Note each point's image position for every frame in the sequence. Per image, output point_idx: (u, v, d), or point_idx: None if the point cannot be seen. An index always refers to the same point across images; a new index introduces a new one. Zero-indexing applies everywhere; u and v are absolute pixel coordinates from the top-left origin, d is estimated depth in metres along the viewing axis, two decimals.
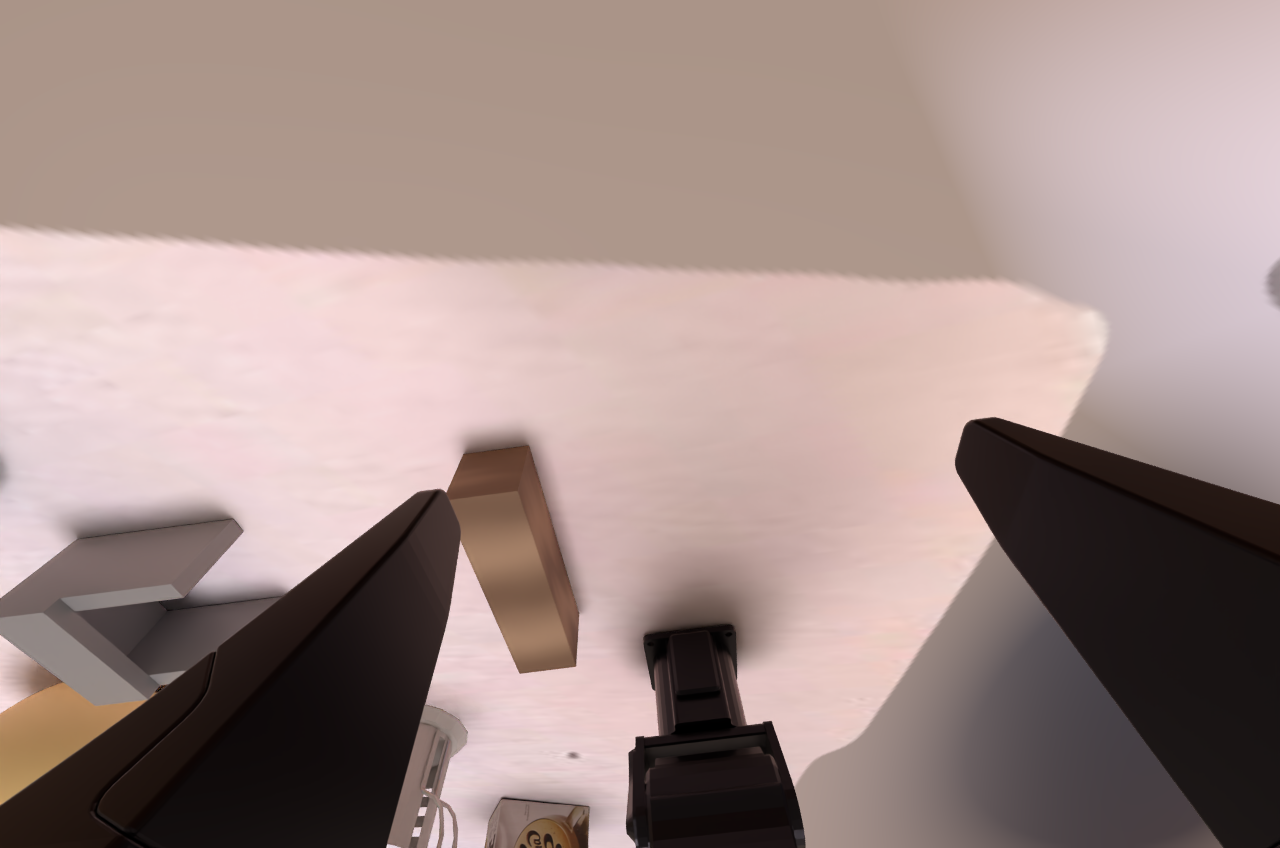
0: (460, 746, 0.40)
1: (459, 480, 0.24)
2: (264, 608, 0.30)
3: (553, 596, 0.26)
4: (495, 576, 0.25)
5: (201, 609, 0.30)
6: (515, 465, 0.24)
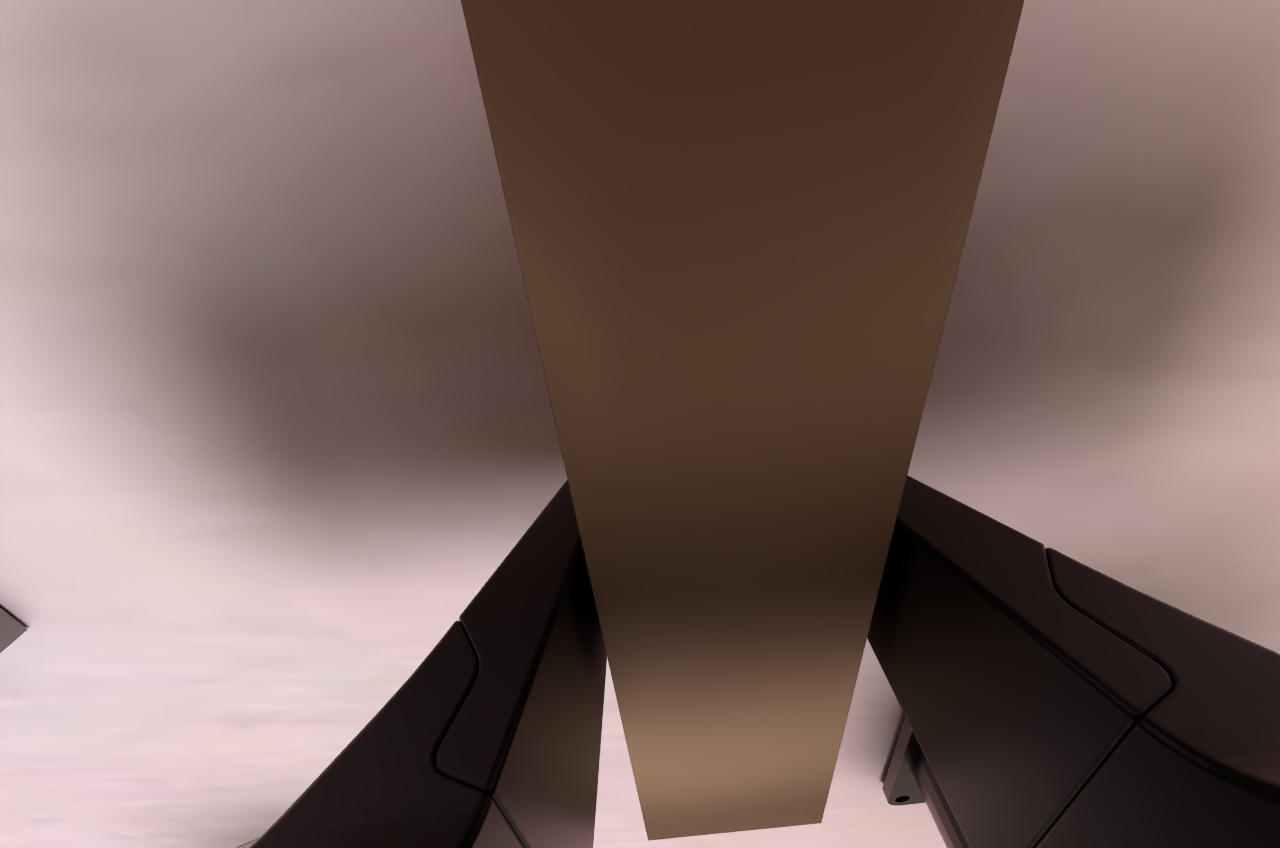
0: None
1: None
2: None
3: None
4: (665, 518, 0.05)
5: None
6: None
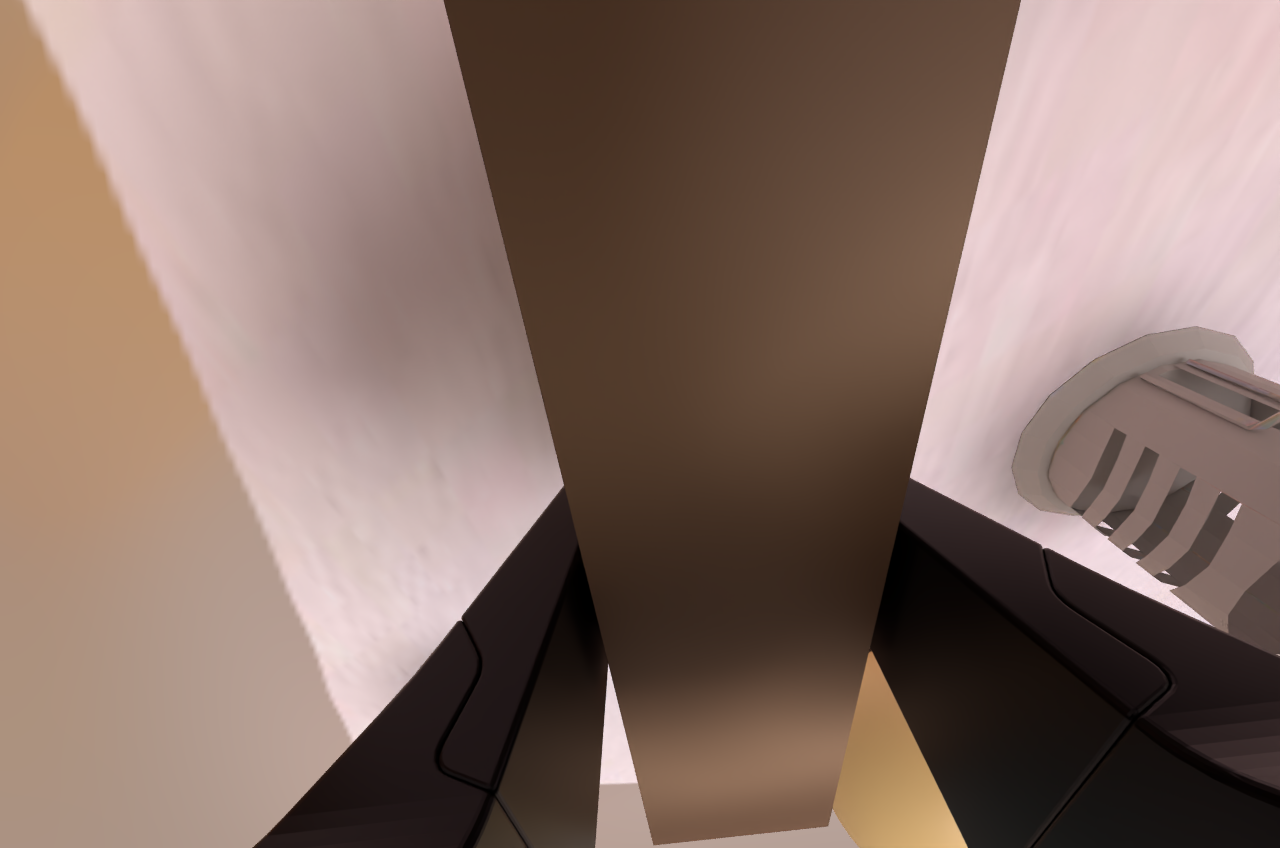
0: (1230, 347, 0.19)
1: None
2: None
3: None
4: (663, 522, 0.05)
5: None
6: None
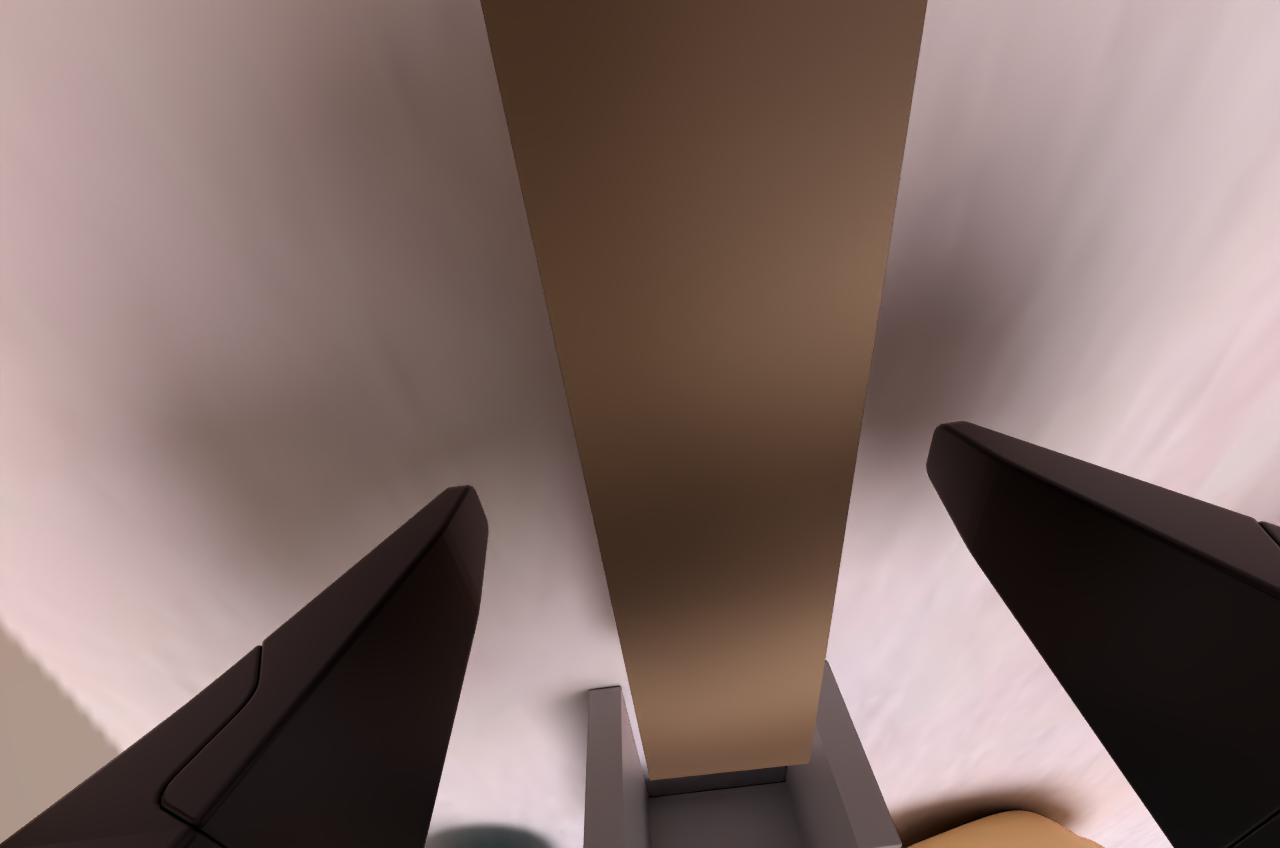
0: None
1: None
2: None
3: None
4: (656, 458, 0.06)
5: None
6: None
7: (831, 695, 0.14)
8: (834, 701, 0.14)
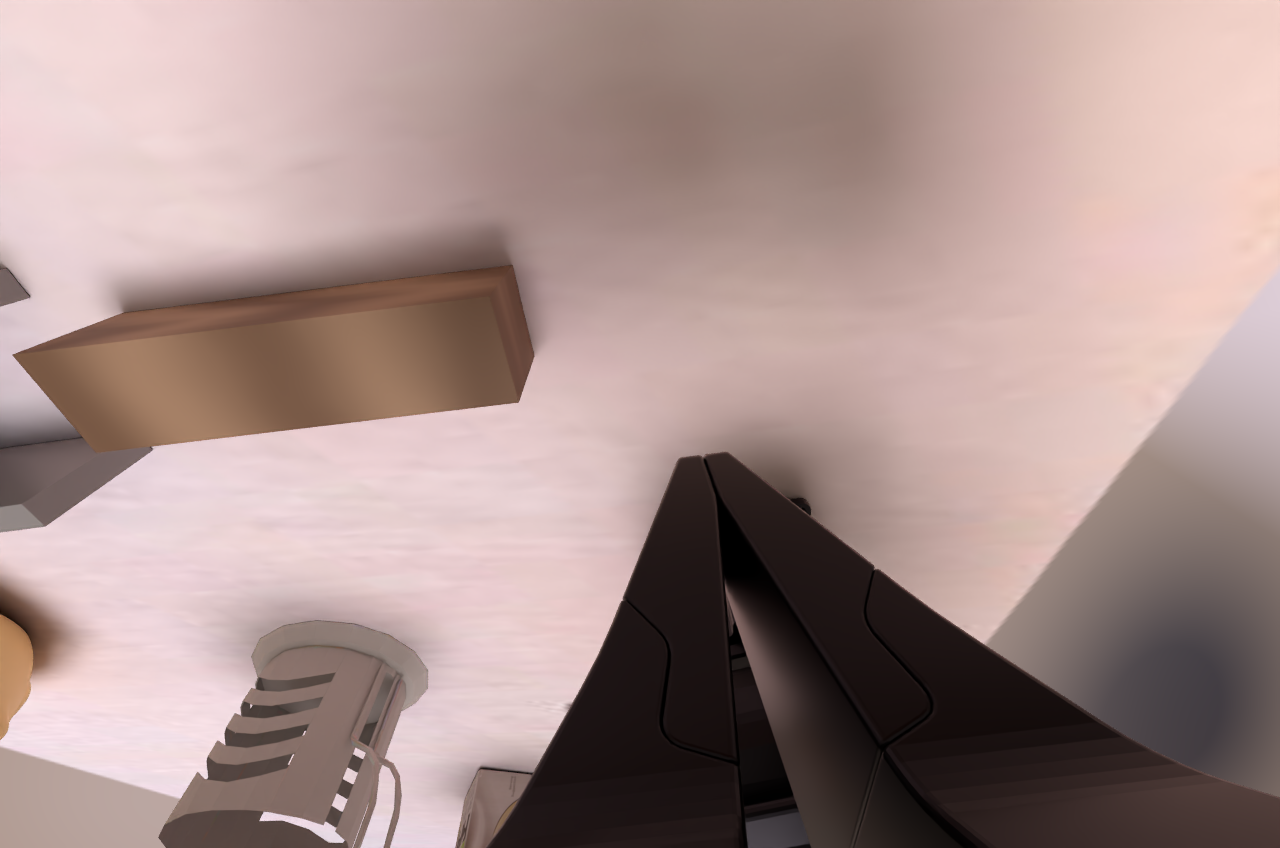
0: (418, 691, 0.29)
1: (502, 295, 0.15)
2: (88, 445, 0.19)
3: None
4: (320, 349, 0.14)
5: None
6: (525, 363, 0.17)
7: (127, 459, 0.19)
8: (123, 462, 0.19)
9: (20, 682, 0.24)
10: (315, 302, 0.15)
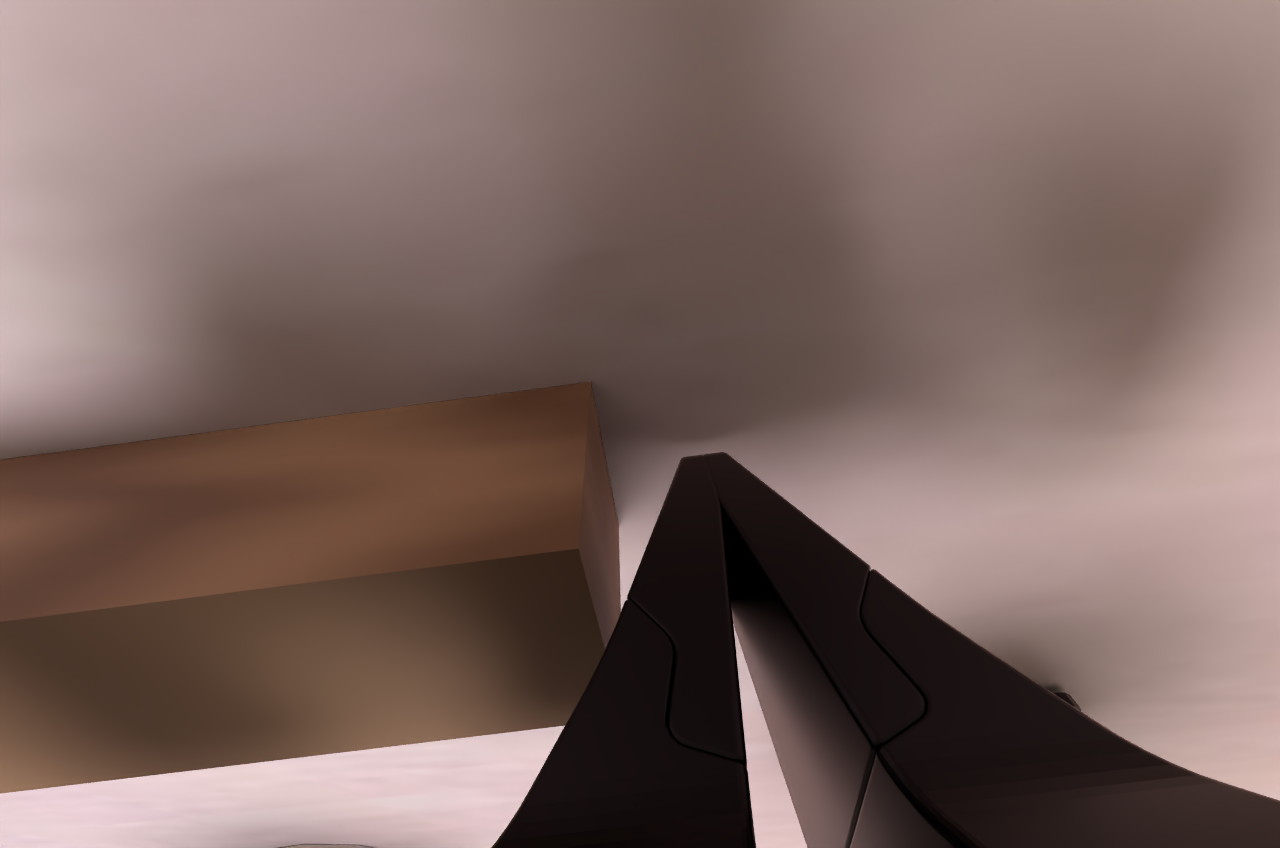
0: None
1: (589, 491, 0.07)
2: None
3: None
4: (149, 660, 0.06)
5: None
6: (616, 584, 0.09)
7: None
8: None
9: None
10: (164, 506, 0.07)
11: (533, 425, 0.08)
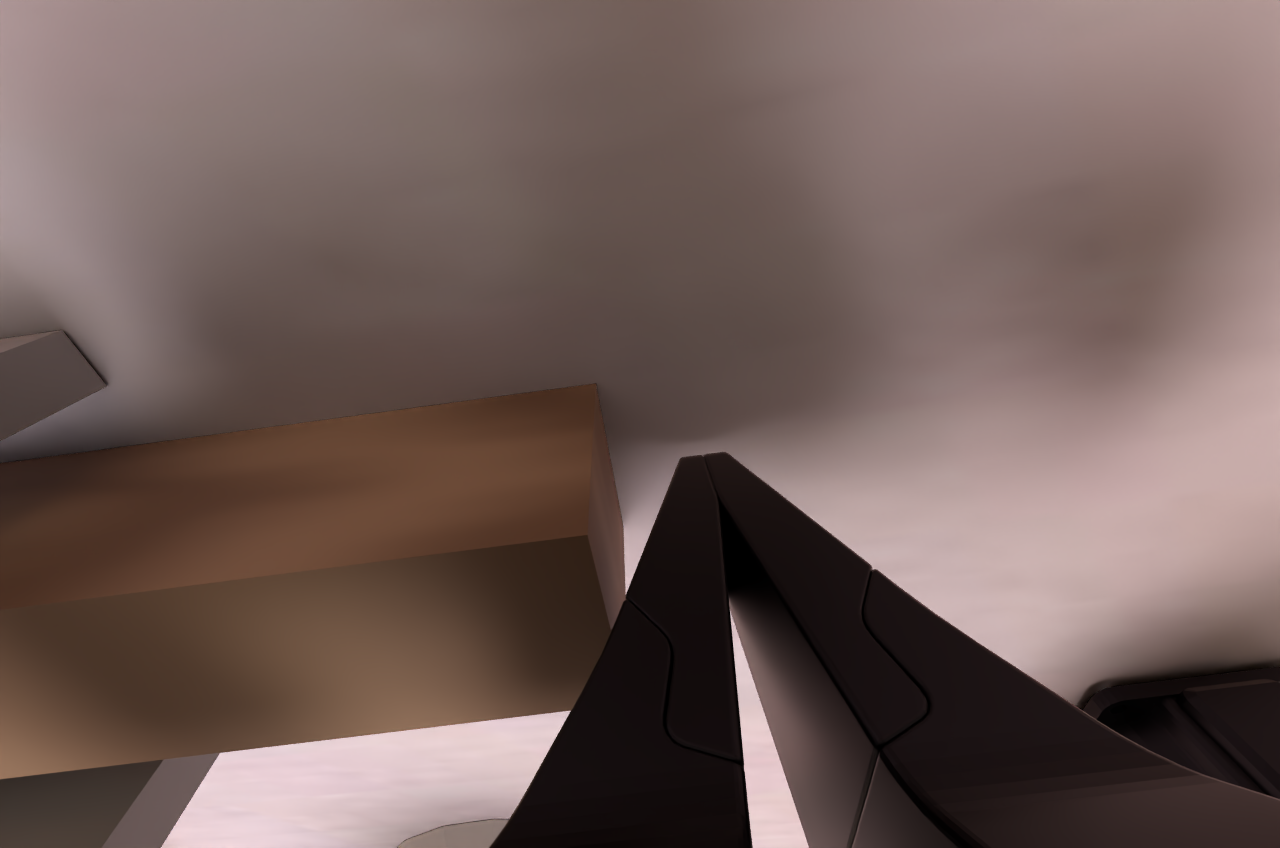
0: None
1: (596, 482, 0.07)
2: None
3: None
4: (174, 644, 0.06)
5: None
6: (621, 575, 0.09)
7: None
8: None
9: None
10: (185, 497, 0.07)
11: (541, 419, 0.08)
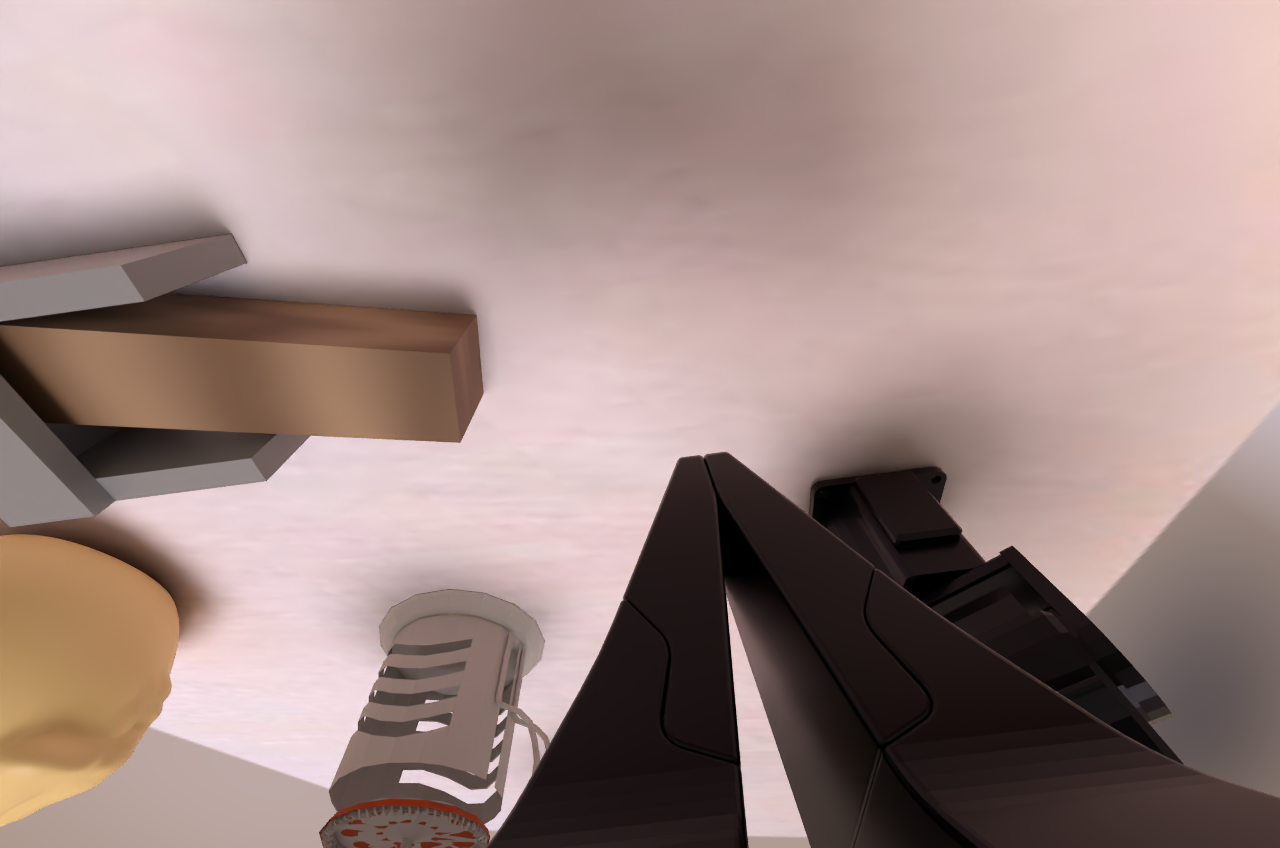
0: (534, 661, 0.30)
1: (462, 347, 0.17)
2: None
3: (239, 430, 0.17)
4: (283, 369, 0.16)
5: None
6: (473, 404, 0.19)
7: None
8: None
9: (175, 645, 0.25)
10: (285, 321, 0.17)
11: (446, 322, 0.18)
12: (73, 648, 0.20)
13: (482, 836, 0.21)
